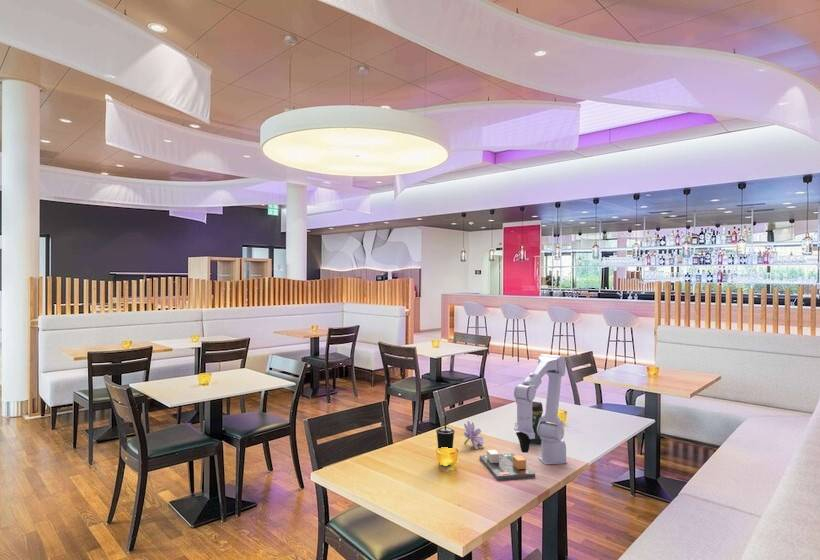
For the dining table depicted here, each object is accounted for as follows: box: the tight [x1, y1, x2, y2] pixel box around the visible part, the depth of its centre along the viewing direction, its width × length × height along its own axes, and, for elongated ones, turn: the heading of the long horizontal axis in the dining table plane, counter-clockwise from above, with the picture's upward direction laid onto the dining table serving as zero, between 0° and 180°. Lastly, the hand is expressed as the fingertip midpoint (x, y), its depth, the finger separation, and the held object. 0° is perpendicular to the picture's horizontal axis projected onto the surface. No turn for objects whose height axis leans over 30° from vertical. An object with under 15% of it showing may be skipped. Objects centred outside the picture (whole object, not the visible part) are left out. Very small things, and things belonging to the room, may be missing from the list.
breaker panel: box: [479, 453, 536, 481], centre depth 192 cm, size 15×22×2 cm
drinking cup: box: [435, 414, 455, 449], centre depth 196 cm, size 8×8×20 cm
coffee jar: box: [530, 400, 544, 444], centre depth 224 cm, size 10×8×19 cm
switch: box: [486, 449, 500, 463], centre depth 195 cm, size 4×5×4 cm
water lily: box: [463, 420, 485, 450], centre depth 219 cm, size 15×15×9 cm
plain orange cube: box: [513, 455, 527, 469], centre depth 188 cm, size 4×5×4 cm
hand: (524, 452), depth 183 cm, fingers closed
